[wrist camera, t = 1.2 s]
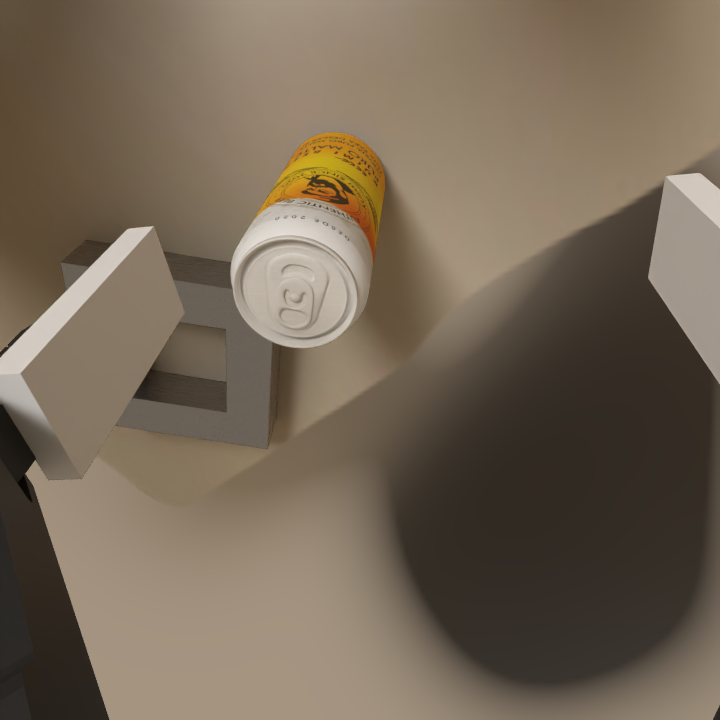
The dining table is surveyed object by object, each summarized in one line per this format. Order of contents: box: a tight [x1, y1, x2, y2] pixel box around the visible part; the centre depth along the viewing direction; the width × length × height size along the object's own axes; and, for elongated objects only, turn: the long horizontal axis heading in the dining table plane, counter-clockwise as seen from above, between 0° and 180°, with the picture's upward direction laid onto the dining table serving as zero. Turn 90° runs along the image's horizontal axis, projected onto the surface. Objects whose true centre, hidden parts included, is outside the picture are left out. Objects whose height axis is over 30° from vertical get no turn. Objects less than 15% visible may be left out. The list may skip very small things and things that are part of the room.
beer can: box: [230, 132, 385, 348], centre depth 30 cm, size 6×6×15 cm
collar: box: [61, 240, 280, 449], centre depth 43 cm, size 14×14×4 cm
